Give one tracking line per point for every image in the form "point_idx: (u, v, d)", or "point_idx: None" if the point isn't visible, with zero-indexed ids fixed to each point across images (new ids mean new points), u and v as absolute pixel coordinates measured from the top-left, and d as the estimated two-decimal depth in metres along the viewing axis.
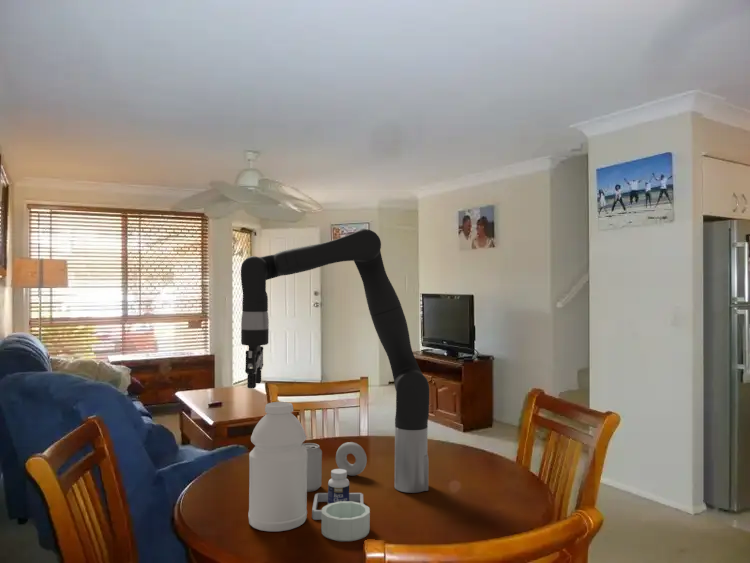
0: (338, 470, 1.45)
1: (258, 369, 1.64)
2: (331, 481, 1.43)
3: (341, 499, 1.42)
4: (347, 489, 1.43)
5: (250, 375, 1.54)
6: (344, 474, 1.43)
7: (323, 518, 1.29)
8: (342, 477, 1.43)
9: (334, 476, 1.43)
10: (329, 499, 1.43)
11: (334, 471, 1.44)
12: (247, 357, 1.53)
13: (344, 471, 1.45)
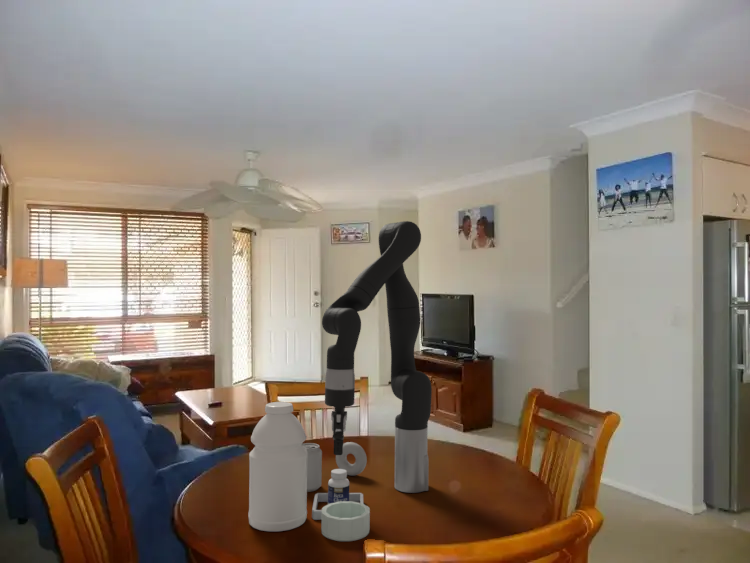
0: (338, 470, 1.45)
1: (340, 430, 1.49)
2: (331, 481, 1.43)
3: (341, 499, 1.42)
4: (347, 489, 1.43)
5: (337, 441, 1.40)
6: (344, 474, 1.43)
7: (323, 518, 1.29)
8: (342, 477, 1.43)
9: (334, 476, 1.43)
10: (329, 499, 1.43)
11: (334, 471, 1.44)
12: (335, 421, 1.38)
13: (344, 471, 1.45)
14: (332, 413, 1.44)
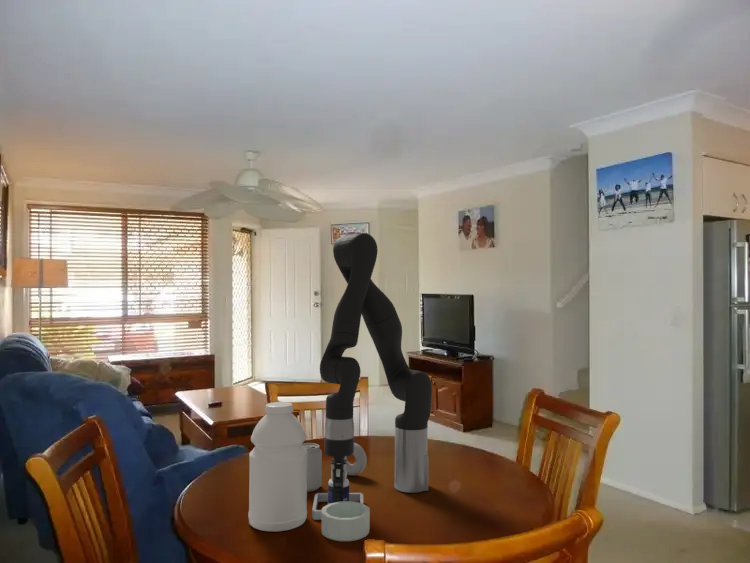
0: None
1: None
2: (331, 481, 1.43)
3: None
4: (347, 489, 1.43)
5: (337, 493, 1.41)
6: None
7: (323, 518, 1.29)
8: None
9: None
10: (329, 499, 1.43)
11: None
12: (335, 476, 1.38)
13: None
14: (332, 463, 1.43)
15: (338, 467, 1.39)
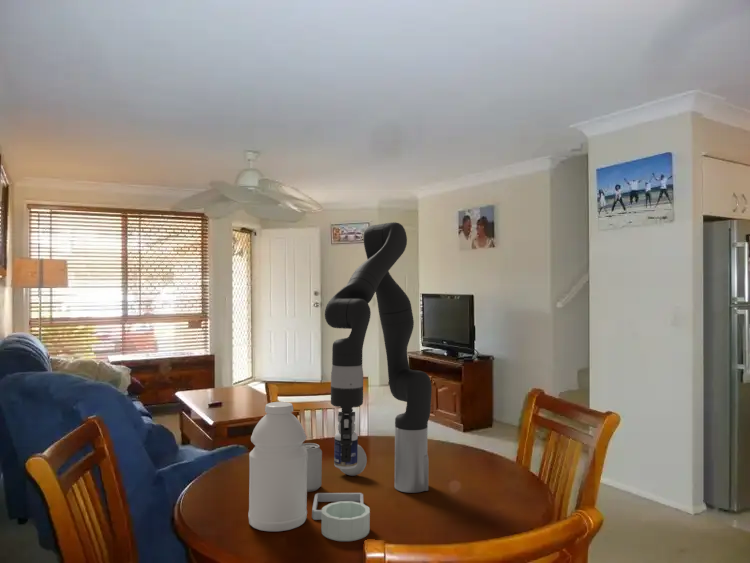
0: None
1: None
2: (338, 434, 1.31)
3: None
4: (355, 443, 1.31)
5: (345, 446, 1.28)
6: None
7: (323, 518, 1.29)
8: None
9: None
10: (336, 454, 1.30)
11: None
12: (342, 427, 1.26)
13: None
14: (339, 414, 1.31)
15: (346, 417, 1.27)
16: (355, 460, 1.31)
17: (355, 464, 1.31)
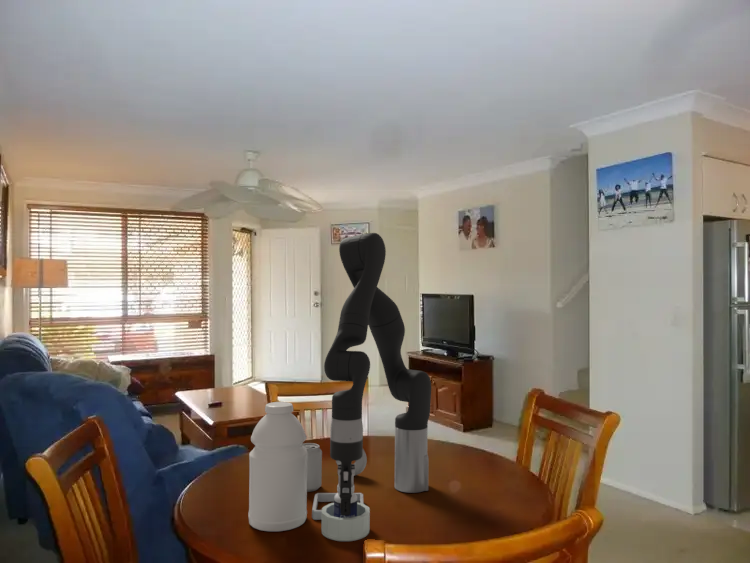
0: None
1: None
2: (337, 496, 1.30)
3: (348, 516, 1.29)
4: (355, 505, 1.30)
5: (344, 500, 1.27)
6: None
7: (323, 518, 1.29)
8: None
9: None
10: (335, 516, 1.30)
11: None
12: (342, 480, 1.25)
13: None
14: (338, 468, 1.30)
15: (346, 470, 1.26)
16: None
17: None
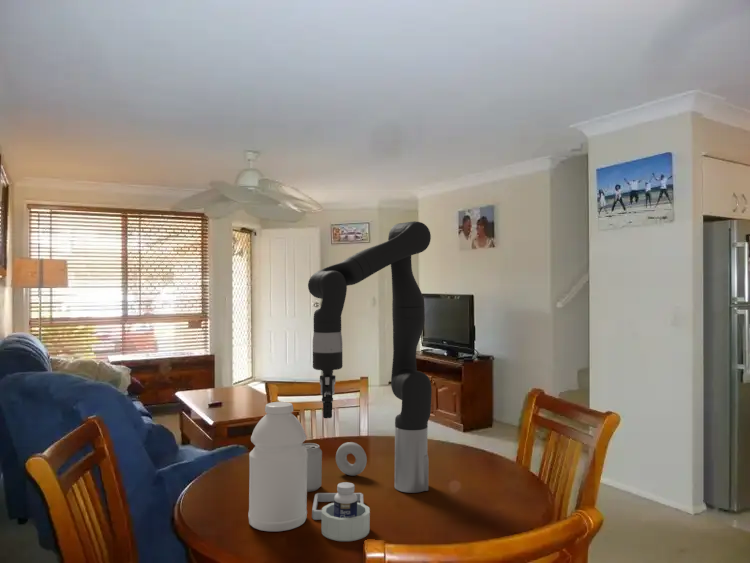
0: (345, 484, 1.32)
1: (329, 395, 1.48)
2: (337, 496, 1.30)
3: (348, 516, 1.29)
4: (355, 505, 1.30)
5: (326, 404, 1.38)
6: (351, 488, 1.30)
7: (323, 518, 1.29)
8: (349, 492, 1.30)
9: (340, 491, 1.30)
10: (335, 516, 1.30)
11: (340, 485, 1.31)
12: (324, 384, 1.37)
13: (351, 485, 1.32)
14: (320, 377, 1.42)
15: None
16: None
17: None
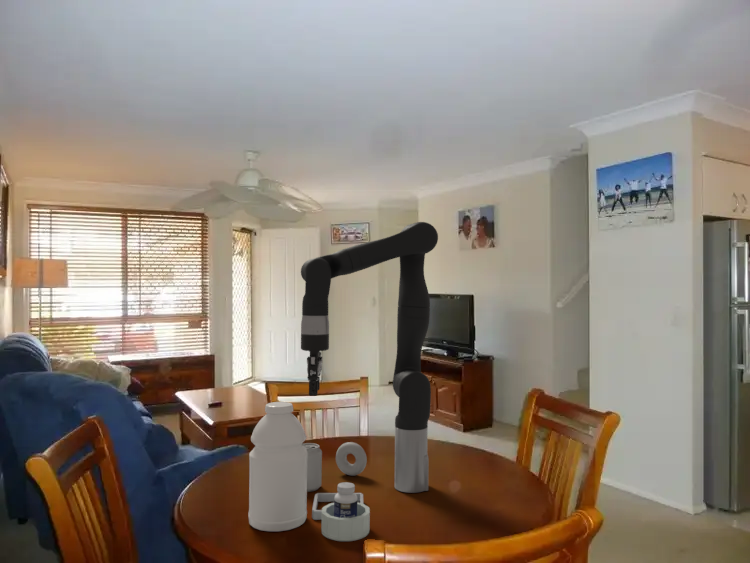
0: (345, 484, 1.32)
1: None
2: (337, 496, 1.30)
3: (348, 516, 1.29)
4: (355, 505, 1.30)
5: (312, 382, 1.47)
6: (352, 488, 1.30)
7: (323, 518, 1.29)
8: (350, 492, 1.30)
9: (341, 491, 1.30)
10: (335, 516, 1.30)
11: (341, 485, 1.31)
12: (310, 363, 1.46)
13: (351, 485, 1.32)
14: None
15: None
16: None
17: None
